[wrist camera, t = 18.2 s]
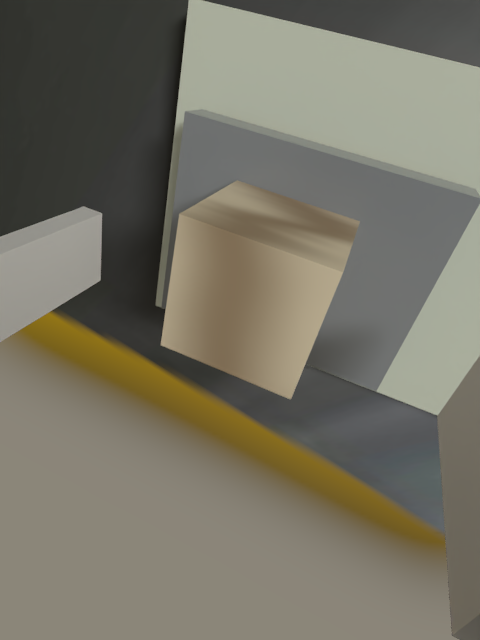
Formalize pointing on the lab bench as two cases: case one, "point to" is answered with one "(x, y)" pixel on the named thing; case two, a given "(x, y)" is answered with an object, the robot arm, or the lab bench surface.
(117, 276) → the lab bench surface
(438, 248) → the tile
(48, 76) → the lab bench surface
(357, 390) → the lab bench surface
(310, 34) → the board
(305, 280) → the block
